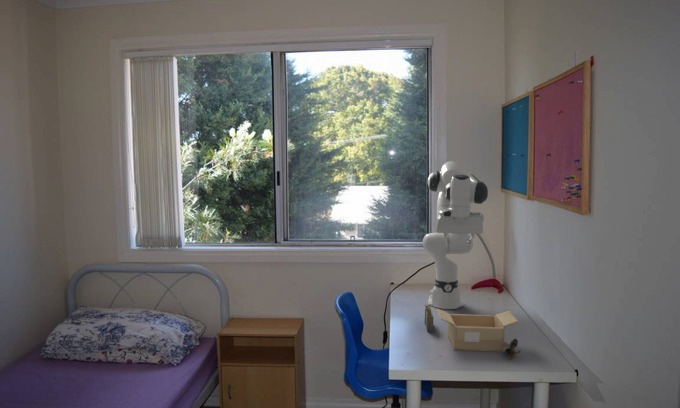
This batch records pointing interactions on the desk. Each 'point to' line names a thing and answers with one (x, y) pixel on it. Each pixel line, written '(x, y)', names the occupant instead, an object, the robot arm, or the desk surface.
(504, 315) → the flap
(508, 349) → the eagle figurine
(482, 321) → the carton
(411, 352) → the desk surface
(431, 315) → the miniature staircase model
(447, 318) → the flap
